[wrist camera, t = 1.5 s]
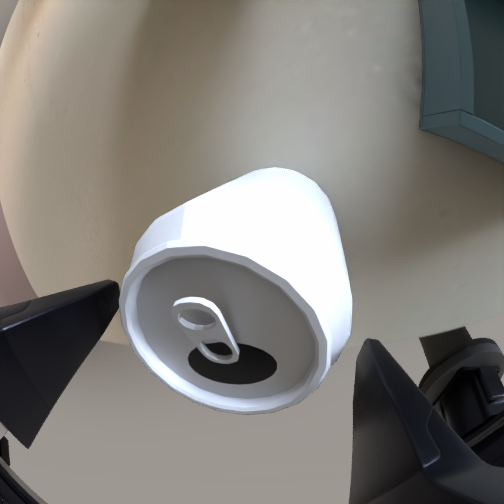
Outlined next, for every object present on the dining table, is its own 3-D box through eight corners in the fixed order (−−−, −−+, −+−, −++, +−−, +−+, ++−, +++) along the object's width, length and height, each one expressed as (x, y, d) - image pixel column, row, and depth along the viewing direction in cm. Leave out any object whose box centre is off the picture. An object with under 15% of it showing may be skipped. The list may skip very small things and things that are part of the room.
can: (241, 283, 20) (165, 419, 9) (207, 184, 18) (64, 252, 7) (344, 265, 18) (362, 424, 7) (319, 153, 15) (328, 171, 4)
